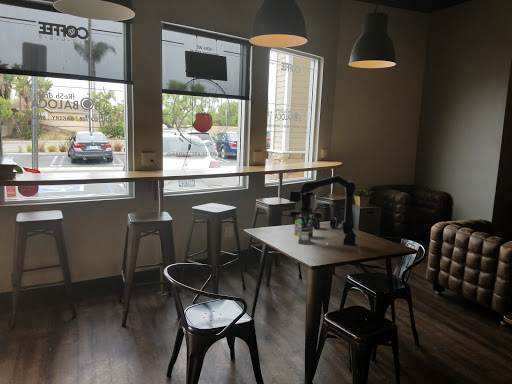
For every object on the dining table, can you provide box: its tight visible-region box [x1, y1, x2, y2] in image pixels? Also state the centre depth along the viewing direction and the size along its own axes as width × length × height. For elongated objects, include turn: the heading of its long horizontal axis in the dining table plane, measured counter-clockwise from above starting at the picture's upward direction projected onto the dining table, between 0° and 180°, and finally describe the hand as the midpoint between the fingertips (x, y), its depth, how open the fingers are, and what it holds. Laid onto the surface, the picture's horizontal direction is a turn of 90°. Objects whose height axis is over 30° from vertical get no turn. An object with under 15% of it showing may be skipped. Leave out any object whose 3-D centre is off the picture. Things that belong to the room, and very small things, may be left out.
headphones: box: [310, 203, 340, 230], centre depth 282 cm, size 20×7×18 cm, turn 101°
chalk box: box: [294, 217, 314, 238], centre depth 256 cm, size 9×9×15 cm
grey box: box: [301, 232, 309, 240], centre depth 240 cm, size 4×5×6 cm
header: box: [297, 237, 312, 246], centre depth 240 cm, size 7×9×2 cm
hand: (305, 227), depth 239 cm, fingers closed
